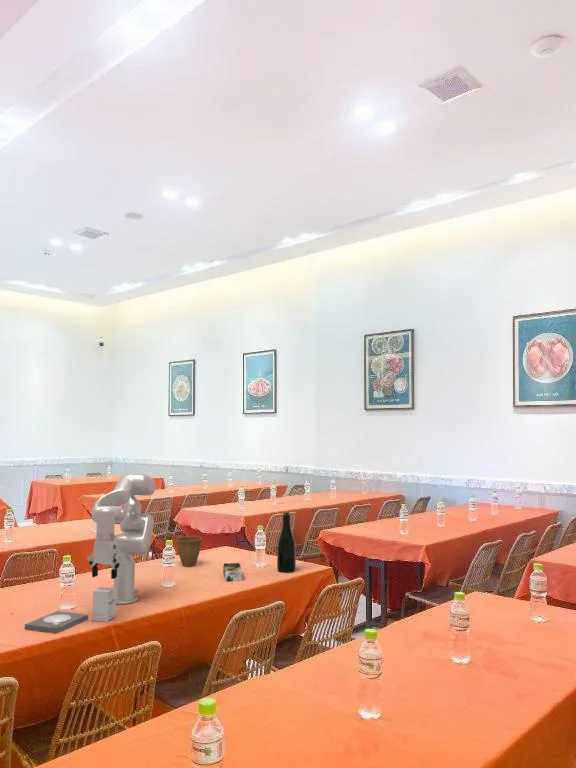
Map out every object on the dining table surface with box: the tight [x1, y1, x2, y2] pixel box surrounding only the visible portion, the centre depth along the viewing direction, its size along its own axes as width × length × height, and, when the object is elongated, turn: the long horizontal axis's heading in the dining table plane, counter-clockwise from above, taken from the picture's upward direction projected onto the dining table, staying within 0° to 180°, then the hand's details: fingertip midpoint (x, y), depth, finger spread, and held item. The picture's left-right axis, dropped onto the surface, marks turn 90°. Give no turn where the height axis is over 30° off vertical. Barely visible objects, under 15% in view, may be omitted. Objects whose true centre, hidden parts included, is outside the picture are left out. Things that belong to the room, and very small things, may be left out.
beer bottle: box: [276, 512, 297, 573], centre depth 374 cm, size 10×10×33 cm
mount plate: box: [24, 610, 89, 634], centre depth 273 cm, size 20×16×3 cm
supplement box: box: [91, 586, 116, 623], centre depth 281 cm, size 7×7×13 cm
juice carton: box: [222, 562, 243, 582], centre depth 358 cm, size 20×10×6 cm, turn 9°
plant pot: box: [176, 535, 202, 568], centre depth 386 cm, size 15×15×16 cm
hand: (104, 577), depth 281 cm, fingers open, 9 cm apart
